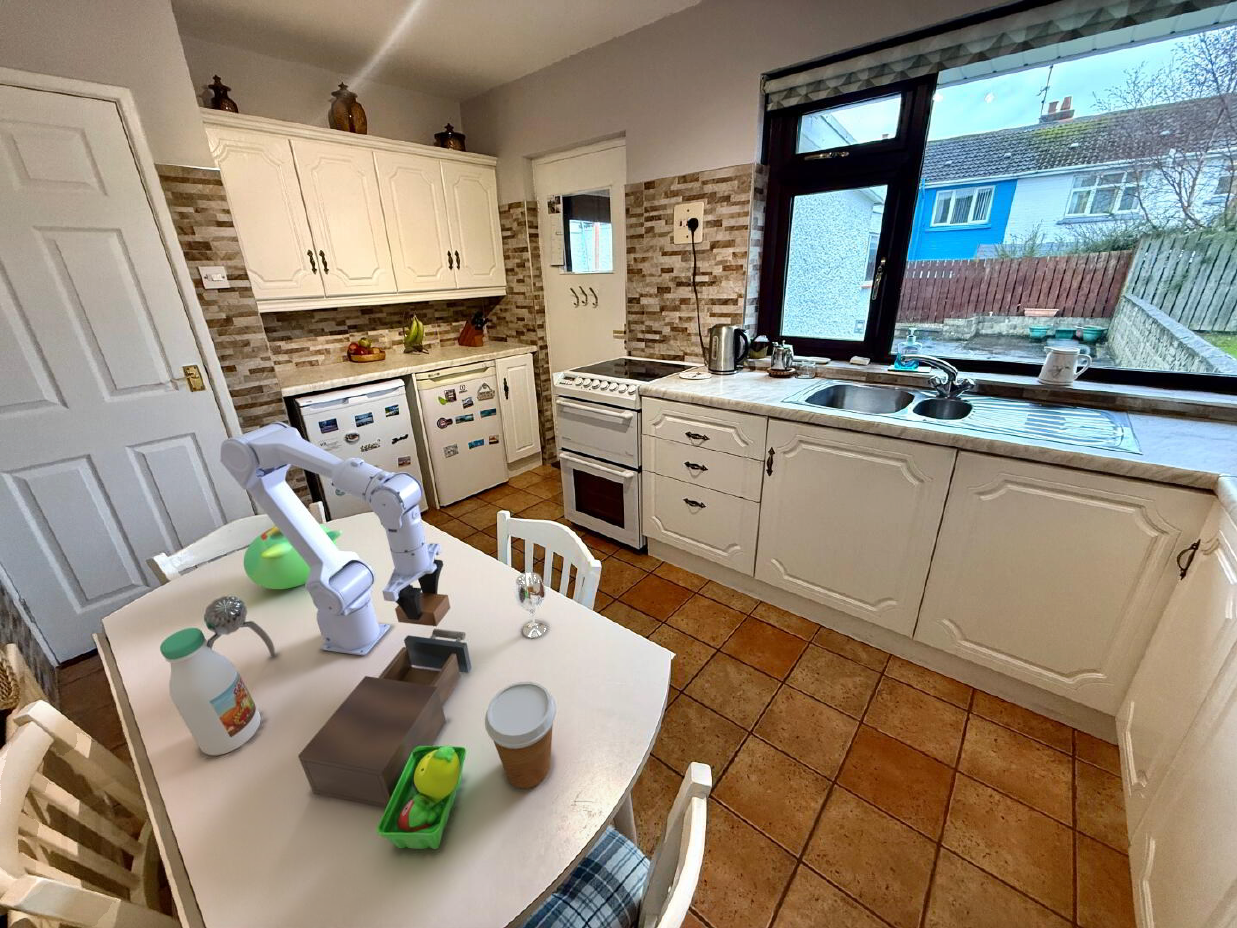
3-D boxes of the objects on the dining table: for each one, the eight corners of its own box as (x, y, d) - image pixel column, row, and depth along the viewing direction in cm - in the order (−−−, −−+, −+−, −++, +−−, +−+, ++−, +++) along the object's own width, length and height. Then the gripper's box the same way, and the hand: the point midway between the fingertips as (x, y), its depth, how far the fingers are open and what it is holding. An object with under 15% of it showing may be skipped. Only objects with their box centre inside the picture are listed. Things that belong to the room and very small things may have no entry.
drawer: (426, 643, 92) (420, 619, 90) (482, 650, 90) (477, 625, 88) (368, 718, 77) (360, 692, 75) (434, 729, 75) (427, 702, 73)
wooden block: (398, 622, 87) (394, 608, 86) (413, 604, 91) (410, 591, 90) (436, 626, 85) (433, 612, 84) (450, 607, 90) (447, 594, 89)
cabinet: (376, 710, 79) (365, 675, 76) (446, 721, 77) (438, 686, 74) (313, 793, 67) (297, 755, 64) (394, 809, 65) (382, 771, 62)
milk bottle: (215, 766, 71) (156, 669, 63) (192, 741, 75) (134, 645, 66) (271, 725, 77) (224, 631, 68) (248, 703, 81) (201, 611, 72)
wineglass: (543, 641, 93) (537, 590, 88) (515, 638, 94) (507, 587, 89) (552, 621, 98) (547, 572, 93) (526, 618, 99) (519, 569, 94)
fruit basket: (420, 769, 70) (405, 713, 66) (481, 770, 70) (469, 713, 65) (383, 859, 59) (361, 800, 55) (454, 860, 59) (438, 801, 55)
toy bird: (324, 550, 125) (308, 500, 119) (358, 572, 115) (343, 518, 110) (243, 587, 111) (221, 531, 106) (274, 614, 102) (252, 556, 96)
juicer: (275, 655, 91) (280, 609, 71) (201, 691, 84) (182, 651, 63) (254, 610, 93) (253, 552, 72) (180, 641, 85) (154, 586, 65)
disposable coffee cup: (502, 812, 64) (490, 750, 59) (489, 751, 72) (478, 692, 68) (570, 783, 68) (564, 721, 63) (551, 727, 76) (544, 669, 71)
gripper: (404, 570, 75) (420, 638, 80) (450, 524, 88) (462, 585, 93) (364, 567, 76) (382, 634, 82) (415, 521, 89) (428, 582, 95)
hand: (422, 608), depth 88 cm, fingers closed on wooden block, 5 cm apart
